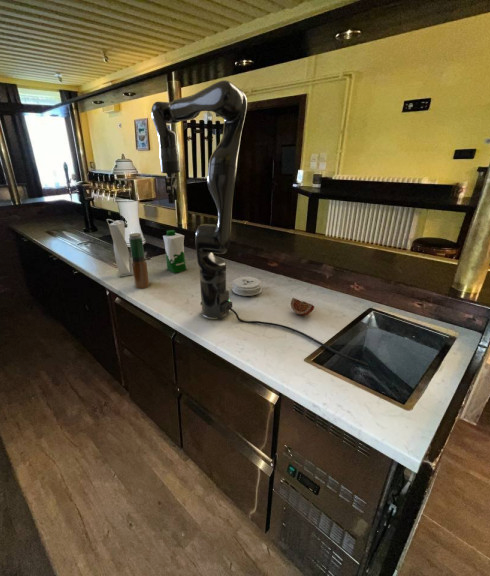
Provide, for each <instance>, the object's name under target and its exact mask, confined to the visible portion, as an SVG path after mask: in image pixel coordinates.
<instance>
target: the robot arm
mask: <svg viewBox="0 0 490 576" xmlns="http://www.w3.org/2000/svg"><path fill="white" fill-rule="evenodd" d="M247 107H248V99H247V95H246V93H245V92H244V91H243V90H242V89H241V88H240V87H238V86H237V85H235V84H234V83H233V82H231V81H229V80H225V79H223V80H219V81H218V82H215V83H213V84H211V85H208V86H207V87H205V88H203V89H202V90H199V91H197V92H196V93H193V94H191V95H187V96H183V97H179V98H176V99H174V100H172V101H171V102H170V101H155V102H154V103H152V106H151V111H150V113H151V114H150V115H151V119H152V122H153V125H154V129H155V131H156V134H157V138H158V145H159V162H160V163H159V164H160V171H161V173H162V174H166V176H165V177H164V183H165V184H164V185H165V193H166V194H167V199H168V204H170V205H171V204H174V203H175V201H178V189H179V185H178V175H177V174H178V173H180V171H181V169H180V168H181V167H180V156H179V150H178V149H179V148H178V138H177V133H176V132H175V130H173V129H172V130H171V129H169V127H168V125H169V124H170V125H171V124H177V123H180V122H186V121H191V120H194V119H196V118H197V117H198V116H199V115H200V114H201V113H202V112H212V113H214V114H215V115H217V116H219V117H220V118H222V119H223V131H222V137H221V140H220V141H219V143H218V145H216V148H215V149H214V150H213V152H212V154H211V156H210V158H209V160H208V165H207V175H206V184H207V188H208V191H209V193H210V195H211V197H212V199H213V201H214V203H215V207H216V210H217V224H210V223H201V224H200V225H198V226H197V228H196V230H195V236H194V237H195V238H194V239H195V240H194V244H195V252H196V261H197V266H198V268H199V283H200V285H199V286H200V300H201V301H200V306H201V316H202V317H203V318H205V319H207V320H213V321H214V320H218V321H221V320H223V319H224V318H225V317H227V315H229V314H230V312H232V313H233V314H234V315H235V317H236V319H237V321H239V322H240V323H245V324H261V325H267V326H268V325H269V326H275V327H279V328H283V329H286V330H289V331H292V332H295V333H297V334H299V335H302V336H303V337H306V338H307V339H309V340H311V341H313V342H314V343H316V344H318V345H320V346H322V347H323V348H325V349H327V350H328V351H330V352H332V353H334V354H335V355H338V356H340V357H342V358H343V359H344V358H345V359H347V360H349V361H352V362H354V363H357V364H360V365H362V366H365V367H369V363H368V362H364V361H361V360H359V359H356V358H353V357H351V356H348V355H346V354H343V353H341V352H339V351H337V350H335V349H333V348H332V347H330V346H329V345H327V344H324V343H323V342H321V341H319V340H317V339H316V338H314V337H312V336H311V335H308V334H306V333H305V332H302V331H300V330H297V329H296V328H293V327H289V326H288V325H287V326H286V325H283V324H279V323H275V322H268V321H261V320H243V319H241V318H240V317H239V314H238V313H237V312H236V311H235V310H234V309H233V301H231V300H230V291H229V290H228V289H227V264H226V261H224V260H223V259H221V258H220V257H218V256H216V255H215V254H218V255H219V254H221V255H225V254H226V253H227V252H228V250H229V248H230V245H231V238H232V219H233V218H232V215H233V201H234V194H235V187H236V180H237V173H238V172H237V171H238V159H239V152H240V145H241V137H242V133H243V128H244V123H245V118H246V114H247V109H248V108H247Z"/></svg>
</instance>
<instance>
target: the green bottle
mask: <svg viewBox="0 0 490 576" xmlns="http://www.w3.org/2000/svg"><path fill="white" fill-rule="evenodd" d="M128 236H129V237H128V240H129V246H130V255H131V258H132V257H134V258H138V257H142V256H144V257H145V251H144V250H145V249H144V243H143V242H144V241H143V236H142V235H141V233H140V232H133V233H129V235H128Z"/></svg>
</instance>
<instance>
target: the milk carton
mask: <svg viewBox="0 0 490 576" xmlns="http://www.w3.org/2000/svg"><path fill="white" fill-rule="evenodd" d="M162 238H163V242H164V243H163V244H164V249H165V260H166V270H167V271H168V272H171V273H173V274H177V273H180V272H183V271H186V270H187V265H186V259H185V244H184V242H185V241H184V240H185V235H183V234H181V233H177V232H176V231H175V229H167V230H166V234H165V235H162Z"/></svg>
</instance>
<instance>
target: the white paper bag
mask: <svg viewBox="0 0 490 576" xmlns="http://www.w3.org/2000/svg"><path fill="white" fill-rule="evenodd" d="M109 221H111V223H109ZM106 222H107V224H108V229H109V232H110V235H111V239H112V243H113V244H112V245H113V246H112V247H113V255H114V260H115V263H116V267H117V270H118V274H119V278H125V277H130V276H131V277H132V276H134V275H133V269H132V257H131V253H130V250H129V247H128V244H127V241H126V227H125V221H123V220H121V219H120V220H118V219H117V220H113V219H110V218H107V219H106Z"/></svg>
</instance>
